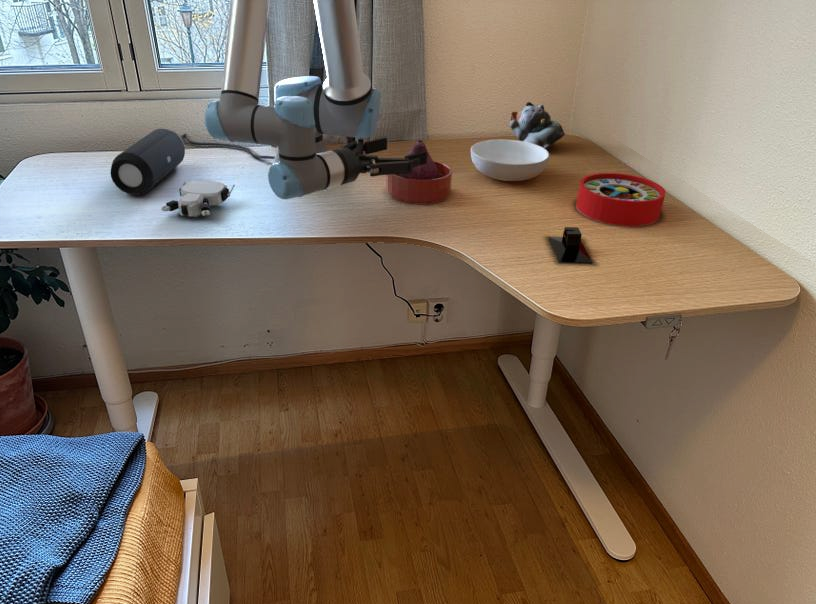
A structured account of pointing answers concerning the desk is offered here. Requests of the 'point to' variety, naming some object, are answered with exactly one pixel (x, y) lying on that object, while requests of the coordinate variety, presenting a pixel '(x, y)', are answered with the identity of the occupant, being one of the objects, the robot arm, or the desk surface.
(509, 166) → the serving bowl
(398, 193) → the red round tray
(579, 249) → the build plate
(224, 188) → the robot toy
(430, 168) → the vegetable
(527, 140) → the lucky cat figurine
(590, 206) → the toy clock
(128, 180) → the portable speaker
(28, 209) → the desk surface
